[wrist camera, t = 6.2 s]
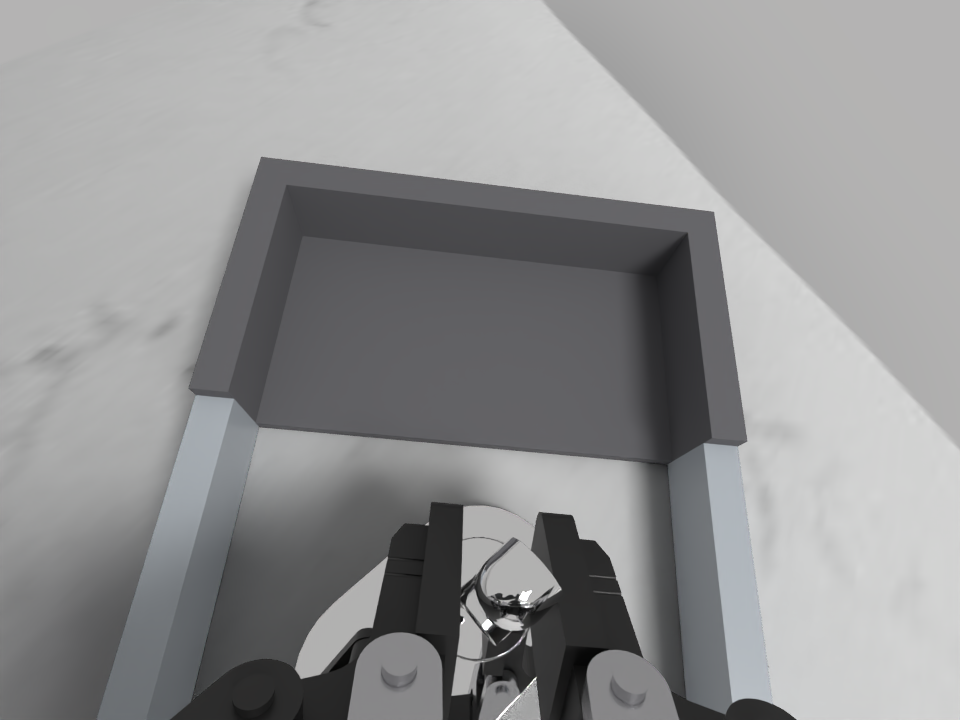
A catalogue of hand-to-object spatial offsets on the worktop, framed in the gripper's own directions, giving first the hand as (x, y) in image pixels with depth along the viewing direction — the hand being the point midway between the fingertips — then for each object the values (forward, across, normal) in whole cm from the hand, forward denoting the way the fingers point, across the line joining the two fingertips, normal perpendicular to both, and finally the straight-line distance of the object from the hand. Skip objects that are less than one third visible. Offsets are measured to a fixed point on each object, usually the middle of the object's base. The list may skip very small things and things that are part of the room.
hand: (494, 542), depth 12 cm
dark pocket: (+8, +1, -2) cm, 8 cm away
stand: (+2, +1, +5) cm, 5 cm away
